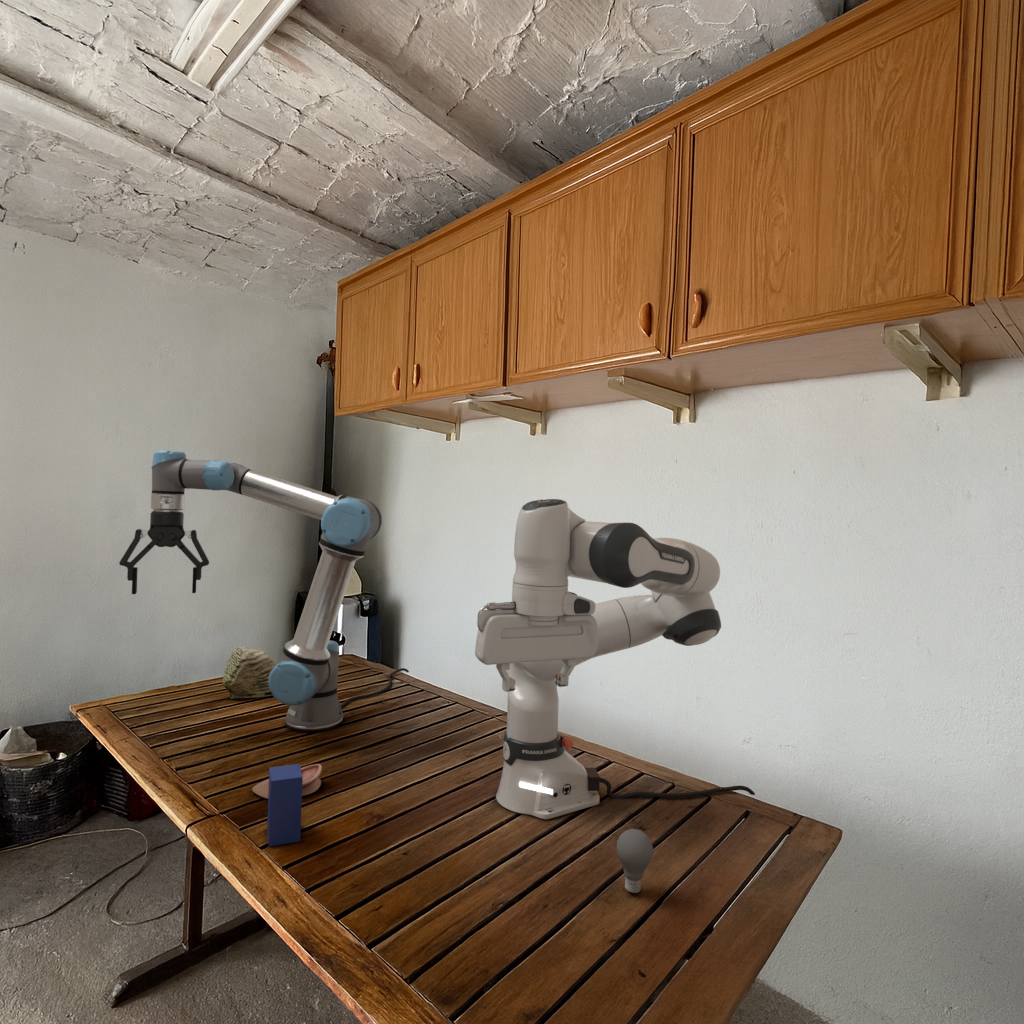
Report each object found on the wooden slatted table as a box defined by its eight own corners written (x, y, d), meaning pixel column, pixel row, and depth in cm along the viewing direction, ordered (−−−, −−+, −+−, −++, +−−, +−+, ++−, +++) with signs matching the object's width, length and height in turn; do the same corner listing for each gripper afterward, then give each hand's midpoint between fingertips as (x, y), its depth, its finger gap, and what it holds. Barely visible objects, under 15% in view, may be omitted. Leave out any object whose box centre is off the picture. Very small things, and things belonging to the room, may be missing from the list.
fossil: (218, 695, 195) (220, 647, 195) (278, 685, 208) (279, 640, 207) (228, 703, 189) (230, 653, 188) (289, 692, 201) (290, 645, 201)
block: (268, 846, 114) (270, 781, 114) (267, 830, 120) (269, 767, 120) (300, 841, 116) (302, 776, 116) (297, 825, 122) (299, 763, 122)
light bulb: (610, 879, 108) (613, 822, 108) (644, 879, 109) (647, 822, 109) (619, 902, 102) (622, 840, 102) (655, 901, 103) (658, 840, 103)
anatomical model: (244, 776, 132) (275, 755, 144) (243, 795, 132) (274, 772, 144) (301, 785, 130) (329, 762, 141) (301, 804, 130) (328, 780, 141)
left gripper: (108, 509, 155) (105, 596, 155) (220, 512, 165) (217, 594, 165) (113, 508, 161) (110, 591, 162) (221, 511, 172) (218, 590, 172)
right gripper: (486, 606, 93) (481, 699, 93) (604, 603, 102) (600, 688, 102) (471, 599, 99) (467, 687, 99) (584, 596, 107) (580, 677, 108)
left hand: (164, 593), depth 163 cm, fingers open, 13 cm apart
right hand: (535, 688), depth 101 cm, fingers open, 8 cm apart
